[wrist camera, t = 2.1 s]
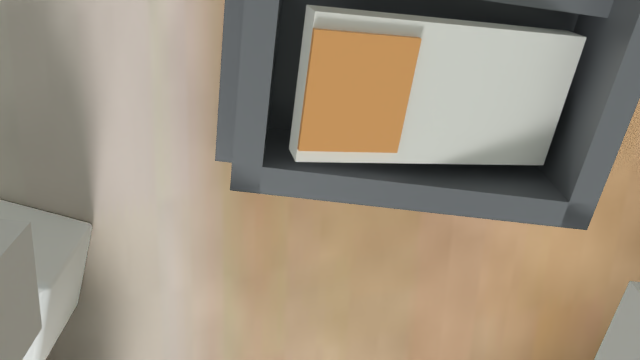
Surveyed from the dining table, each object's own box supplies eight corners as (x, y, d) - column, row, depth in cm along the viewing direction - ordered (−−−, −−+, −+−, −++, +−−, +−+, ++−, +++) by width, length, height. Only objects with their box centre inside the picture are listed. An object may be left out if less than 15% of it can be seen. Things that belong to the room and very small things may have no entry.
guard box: (636, -36, 31) (720, -21, 25) (555, 190, 37) (606, 248, 31) (234, -97, 29) (214, -98, 23) (218, 150, 35) (199, 204, 29)
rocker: (567, 30, 29) (591, 38, 28) (527, 154, 32) (546, 167, 31) (306, 4, 25) (316, 12, 23) (288, 149, 28) (296, 164, 26)
